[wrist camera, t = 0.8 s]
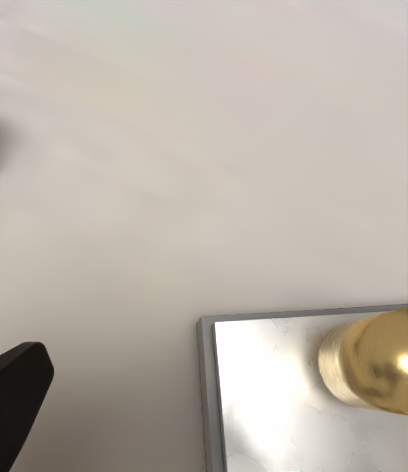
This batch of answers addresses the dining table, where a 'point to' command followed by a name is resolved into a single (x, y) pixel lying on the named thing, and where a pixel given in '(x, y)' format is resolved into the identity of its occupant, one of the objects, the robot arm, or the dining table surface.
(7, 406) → the robot arm
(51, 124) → the dining table surface
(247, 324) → the pan
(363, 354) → the cylinder
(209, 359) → the base
